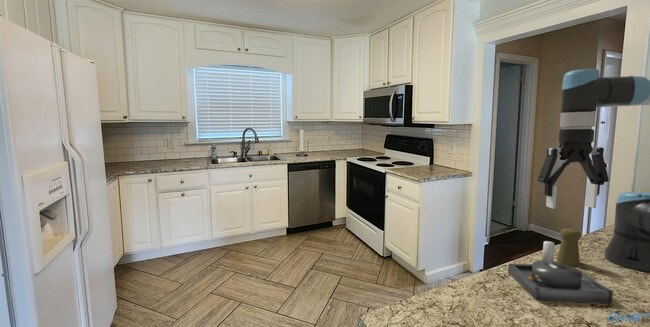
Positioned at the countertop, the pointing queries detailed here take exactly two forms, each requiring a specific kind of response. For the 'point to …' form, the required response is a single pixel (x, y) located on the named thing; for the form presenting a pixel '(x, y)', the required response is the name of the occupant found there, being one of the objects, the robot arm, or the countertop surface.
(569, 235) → the cork
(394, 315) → the countertop surface
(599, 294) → the dark grey tray
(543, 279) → the lever
